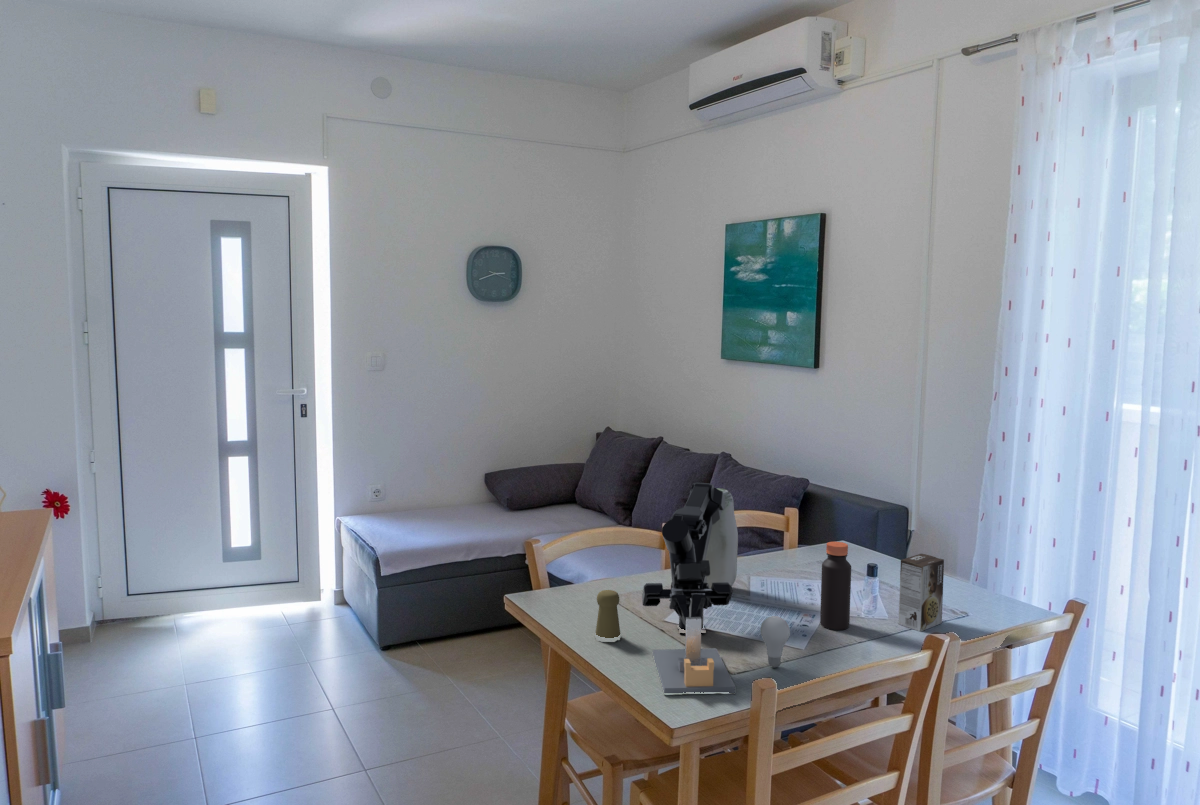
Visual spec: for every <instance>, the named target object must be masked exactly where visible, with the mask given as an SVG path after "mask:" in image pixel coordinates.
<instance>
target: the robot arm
mask: <svg viewBox="0 0 1200 805" xmlns="http://www.w3.org/2000/svg"><path fill="white" fill-rule="evenodd" d="M689 490H690V491H689V496H688V497H687V498H688V499H687V501H686V503H685V505H684V506H683V507H681V508H679V509H676V510H675V512H674V513H673V514H672V516H671V517H670V518H669V519H668V521H666V522H665V523H664V525H663V526H662V527H661V535H662V538H663V541H664V545H665V546H666V550H668V553H669V554H668V555H669V563H670V564H669V565H670V574H671V575H670V576H671V585H670V588H666V589H665V588H663V586H664V585H663V583H661V582H655V583H654V582H651V583H650V582H649V583H645V584H644V585H643V587H642V589H643V590H642V593H641V601H642V606H643V607H658V606H659V604H661V599H662V600H663V599H668V601H669V606H668V608H669V609H670V610H674V612H675V613H676V614H677V616H678V622H679V627H680V628H681V629H684V630H686V617H701V629H702V628H703V625H704V610H705V609H706V610H708V608H711V607H713V606H727V605H729V604H730V602H731V599H732V596H733V587H731V585H730V584H729V583H728V582H720V583H712V586H711V589H710V588H709V584H708V583H707V578H706V576H709V575H710V564H709V560H706V555H707V550H708V545H709V540H710V535H711V530H712V525H713V524H715V523H716V522H717V521H718V520H719V519H720V517H721V513H722V510H724V509H725V496H724V494H723V492H722V491H720V490H718V489H717V488H716V487H715V486H714V484H712V483H706V482H695V483H692V484H691V489H689Z"/></svg>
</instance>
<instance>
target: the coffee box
mask: <svg viewBox="0 0 1200 805" xmlns="http://www.w3.org/2000/svg"><path fill="white" fill-rule="evenodd" d="M944 569H945V559H942V558H939V557H936V556H934V555H929V554H927V553H919V554H918V553H917V554H915V555H912V556H909V557H906V558H902V559H900V571H899V572H900V573H899V575H900V576H899V600H898V601H899V602H898V625H900V626H903V627H906V628H908V629H912V630H915V631H917V632H923V631H926V630H928V629H931V628H934V627H935V626H938V625H940V624H942V623H943V604H944V603H943V600H944V599H943V597H944V576H945V575H944V574H945V573H944V572H945V570H944Z"/></svg>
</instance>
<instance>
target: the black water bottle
mask: <svg viewBox="0 0 1200 805" xmlns="http://www.w3.org/2000/svg"><path fill="white" fill-rule="evenodd" d="M848 550H849V544H848V543H846V542H842V541H829V542H826V550H825V553H826V556H827V558H826V559H825V560H824V561H823V562H822V564H821V578H820V580H821V581H820V583H821V584H820V585H821V586H820V610H819V611H820V616H819V618H820V619H819V623H821V624H820V625H821V626H822V627H823V626H824V627H823V628H825V627H826V628H825V629H828V628H829V630H832V629H834V630H833V631H845V630H847V629H848V628H849V627H850V622H851V621H850V620H851V619H850V616H851V592H852V590H851V589H852V585H851V584H852V565H851V563H850V562H849V561H848V560H847V557H848V553H849V551H848Z"/></svg>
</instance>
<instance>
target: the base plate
mask: <svg viewBox="0 0 1200 805" xmlns="http://www.w3.org/2000/svg"><path fill="white" fill-rule="evenodd" d="M653 656H654V659H653V661H654V660H655V663H656V666H655V668H656V667H657V669H656V671H657V670H658V673H659V676H658V678H659V677H660V680H661V683H662V686H661V688H662V687H663V690H664V693H683V692H684V693H686V692H694V693H695V692H700V693H701V692H703V693H704V692H729V693H735V694H736V685H735V683H734V681H733V678H732V677H731V675H730V673H729V672H728V669H727V667H726V665H725V663H724V661H723V659H722V657H721V655H720V653H719V651H718V649H717V648H715V647H714V648H701V659H700V665H698V666H691V662H690V660H689V659H685V648H672V649H671V648H670V649H669V648H665V649H663V648H662V649H659V648H658V649H652V657H653ZM655 663H654V664H655ZM658 673H657V674H658ZM660 680H659V681H660ZM661 683H660V684H661ZM663 690H662V691H663ZM664 693H663V694H664Z"/></svg>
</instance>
